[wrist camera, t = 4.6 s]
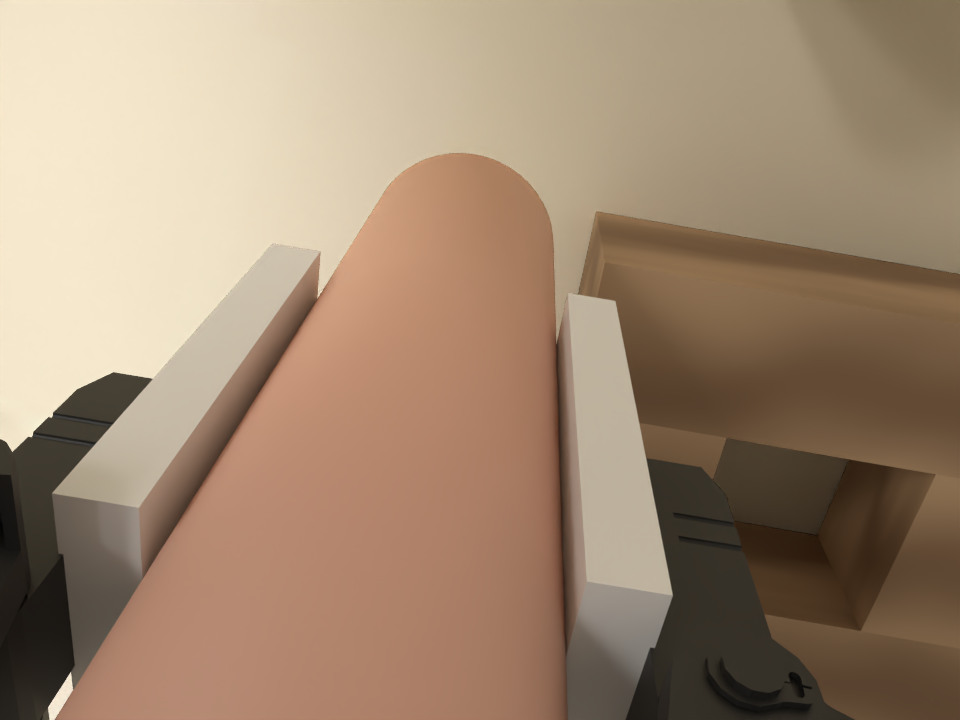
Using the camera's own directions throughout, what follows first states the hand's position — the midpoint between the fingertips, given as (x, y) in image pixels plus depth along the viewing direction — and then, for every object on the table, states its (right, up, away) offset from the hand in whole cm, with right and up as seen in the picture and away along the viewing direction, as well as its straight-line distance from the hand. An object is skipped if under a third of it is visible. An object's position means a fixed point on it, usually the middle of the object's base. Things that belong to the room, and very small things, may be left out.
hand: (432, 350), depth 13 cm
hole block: (+10, -3, +14) cm, 17 cm away
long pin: (0, +2, +5) cm, 5 cm away
